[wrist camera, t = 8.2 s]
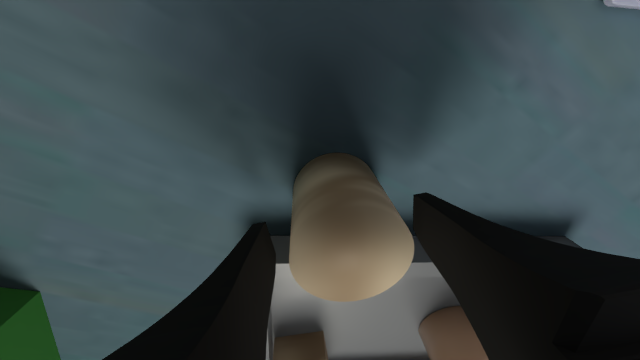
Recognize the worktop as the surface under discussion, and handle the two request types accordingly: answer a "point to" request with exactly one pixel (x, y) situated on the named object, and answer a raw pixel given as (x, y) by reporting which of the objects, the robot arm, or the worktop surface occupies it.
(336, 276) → the beige oval piece
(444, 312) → the tan rounded cylinder
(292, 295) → the tray
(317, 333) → the oak cube
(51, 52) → the worktop surface
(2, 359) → the hardback book
